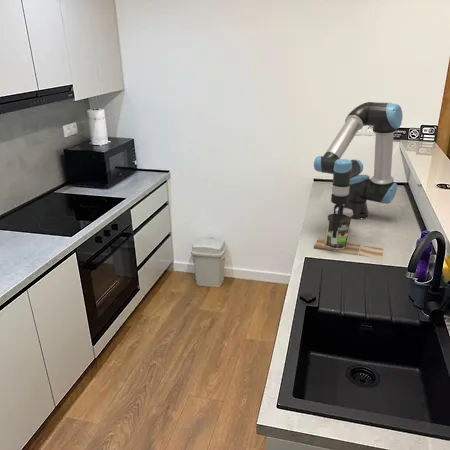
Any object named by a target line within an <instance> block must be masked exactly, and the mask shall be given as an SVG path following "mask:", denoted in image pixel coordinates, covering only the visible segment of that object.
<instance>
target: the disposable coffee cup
mask: <svg viewBox="0 0 450 450" xmlns="http://www.w3.org/2000/svg"><path fill="white" fill-rule="evenodd" d="M343 215H346V216H348V217H350V219H351V220H350V224H349V227H350V226H351V222H352V215H353V211H352V210H351V209H348V208H343Z"/></svg>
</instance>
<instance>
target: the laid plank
mask: <svg viewBox="0 0 450 450" xmlns="http://www.w3.org/2000/svg"><path fill="white" fill-rule="evenodd" d="M383 254H384V248H381V247H375V246H367V245H361V244H360V249H359V252H358V256H359V257H366V258H371V259H381V260H382V259H383Z"/></svg>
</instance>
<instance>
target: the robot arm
mask: <svg viewBox="0 0 450 450" xmlns="http://www.w3.org/2000/svg"><path fill="white" fill-rule="evenodd" d="M402 122H403V110H402V107H401V106H400V104H398V103H392V102H375V101H373V102H372V101H368V102H363V103H361V104H359V105H358V106H356V107H355V108H353V109H352V110H351V111H350V112H349V113H348V114H347V116H346V118H345V119H344V124H343V125H342V127H341V129H340V130H339V132H338V133H337V135H336V136H335V138H334V139H333V141H332V143H330V145H329V147H328V149H327V150H326V152H325V153H324V154H323V156H322V155H317V156H316V157H315V158H314V161H313V168H314V170H315V172H319V173H322V174H331V175H332V185H331V186H330V188H331V196H330V202H331V203H332V204H335V205H334V206H333V213H332V214H333V223H332V229H330V230H331V231H332V236H331V244H337V239H338V226H339V220H340V217H341V216H342V214H343V208H348V209H351V210H352V211H353V215H352V218H355V219H354V220H356V219H357V220H362V219H361V218H364V219H366V217H367V218H368V217H369V209H368V204H367V201H370V202H376V203H380V204H387V205H388V204H390V203H392V202H393V200H394V198H395V196H396V194H397V192H398V191H397V190H398V184H397V183H396V182H394V177H392V162H393V148H394V133H396V132H397V130H398V129H399V128H400V127H401V126H402ZM365 126H368V127H369V126H370V127H372V132H373V133H374V134H375V144H374V160H373V161H374V163H373V176H371V178H370V175H367V174H361V173H362V172H363V170H364V164H363V162H362V161H361V160H359V159H356V158H355V159H351V160H350V159H346V158H342V157H343V155H344V154H345V152H346V150H347V149H348V147H349V145H350V144H351V142H352V141H353V139H354V138H355V137H356V134H357V133H358V132H359V131H360V130H361V129H363V127H365ZM352 218H351V219H352Z"/></svg>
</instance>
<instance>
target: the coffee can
mask: <svg viewBox="0 0 450 450" xmlns="http://www.w3.org/2000/svg"><path fill="white" fill-rule="evenodd" d="M333 214H334V213H330V214H328V215H327V221H326V222H327V223H326V229H325V237H324V238H325V243H324V244H325V246H327V247H328V248H331V249H336V250H340V249H344V248H346V244H347V243H348V236H349V229H350V226H349V224H350V225H351V222H350V220H351V221H352V218H351V219H350V217H348V216H346V215H343V214H342V216H341V217H340V220H339V226H338V239H337V244H331V236H332V231H331V230H330V229H332V223H333Z"/></svg>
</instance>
